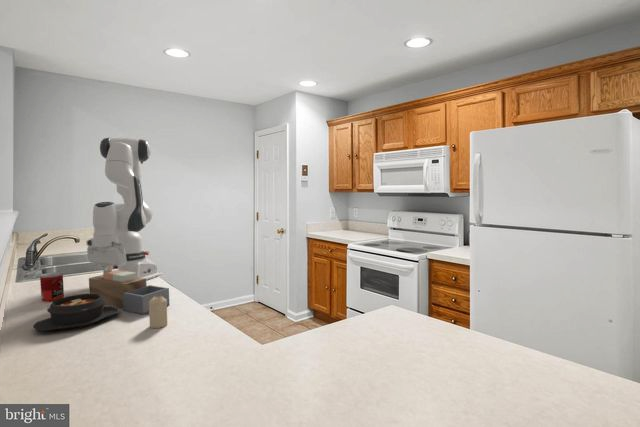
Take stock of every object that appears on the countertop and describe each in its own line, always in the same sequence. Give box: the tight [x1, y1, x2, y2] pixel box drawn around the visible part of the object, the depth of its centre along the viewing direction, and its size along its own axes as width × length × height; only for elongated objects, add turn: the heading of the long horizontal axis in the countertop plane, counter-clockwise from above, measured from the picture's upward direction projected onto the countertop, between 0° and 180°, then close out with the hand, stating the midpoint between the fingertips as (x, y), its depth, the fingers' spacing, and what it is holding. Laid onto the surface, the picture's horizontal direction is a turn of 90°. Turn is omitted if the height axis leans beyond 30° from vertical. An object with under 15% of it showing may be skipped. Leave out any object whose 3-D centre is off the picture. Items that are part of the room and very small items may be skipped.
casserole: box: [32, 293, 119, 332], centre depth 128 cm, size 25×19×8 cm
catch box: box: [123, 284, 170, 316], centre depth 143 cm, size 12×11×7 cm
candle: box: [148, 296, 168, 329], centre depth 125 cm, size 6×6×10 cm
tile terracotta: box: [102, 269, 126, 281], centre depth 151 cm, size 6×6×2 cm
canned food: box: [39, 271, 65, 303], centre depth 156 cm, size 8×8×11 cm
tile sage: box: [113, 271, 137, 282], centre depth 148 cm, size 6×6×2 cm
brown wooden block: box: [88, 274, 147, 310], centre depth 151 cm, size 9×23×10 cm, turn 64°
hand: (107, 274), depth 153 cm, fingers closed
